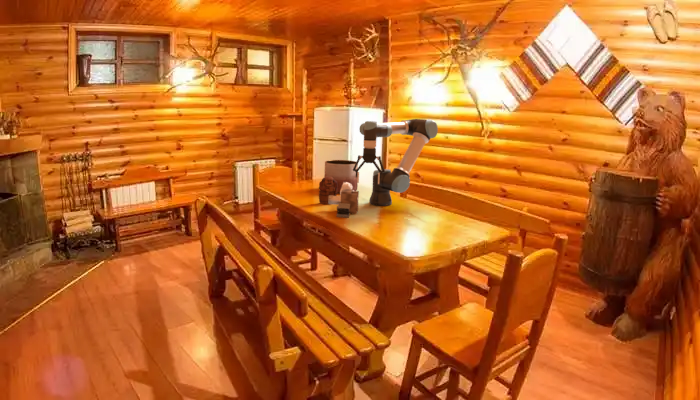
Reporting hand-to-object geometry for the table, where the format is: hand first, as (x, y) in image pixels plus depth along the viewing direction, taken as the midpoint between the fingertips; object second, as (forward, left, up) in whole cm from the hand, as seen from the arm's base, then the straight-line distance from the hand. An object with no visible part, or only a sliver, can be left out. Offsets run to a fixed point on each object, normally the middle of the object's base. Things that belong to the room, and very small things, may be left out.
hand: (368, 183), depth 264 cm
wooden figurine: (+19, -27, -19) cm, 38 cm away
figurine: (+4, -37, -19) cm, 42 cm away
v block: (+16, +6, -18) cm, 25 cm away
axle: (+14, -5, -14) cm, 21 cm away
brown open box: (+10, -4, -18) cm, 21 cm away
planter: (+1, -67, -19) cm, 70 cm away
